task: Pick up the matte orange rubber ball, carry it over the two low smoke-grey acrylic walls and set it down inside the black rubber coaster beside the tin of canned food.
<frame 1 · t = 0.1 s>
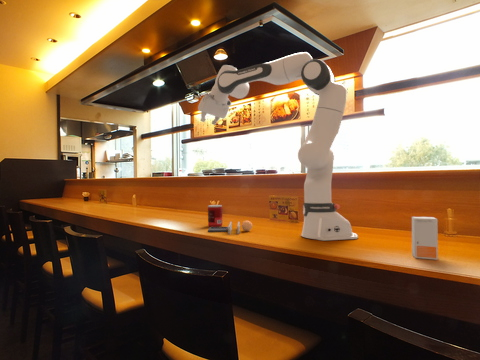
hand: (207, 122, 151), 54 cm above the table, tool tilted 30°, fingers open, 8 cm apart
walls: (234, 231, 139), on the table
coaster: (218, 230, 143), on the table
ball: (247, 231, 139), on the table
skincare box: (424, 258, 87), on the table
canned food: (215, 226, 158), on the table
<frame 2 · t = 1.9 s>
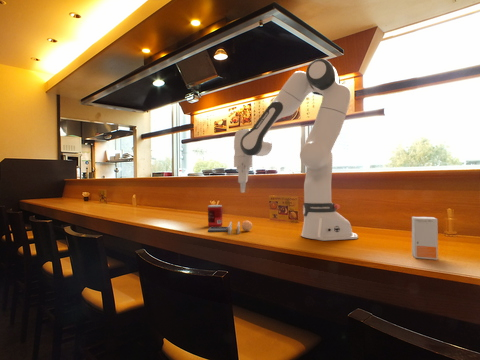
hand: (243, 192, 140), 19 cm above the table, tool pointing down, fingers open, 8 cm apart
nothing on the table moved.
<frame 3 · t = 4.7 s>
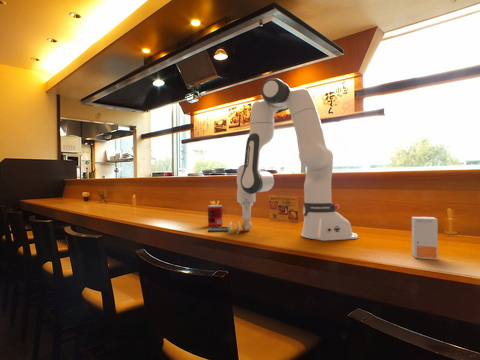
hand: (246, 227, 139), 2 cm above the table, tool pointing down, fingers closed on ball, 5 cm apart
ball: (246, 231, 139), on the table, touching gripper
everything else where it was.
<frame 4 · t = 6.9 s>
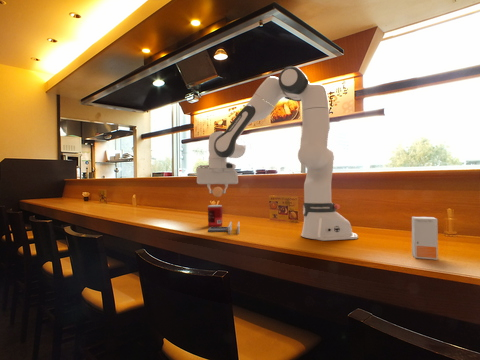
hand: (217, 193, 143), 18 cm above the table, tool pointing down, fingers closed on ball, 5 cm apart
ball: (217, 196, 143), point 16 cm above the table, touching gripper
everything else where it was.
when the fingers open (4 cm above the table, at t = 9.3 s): ball drops 2 cm, resting on coaster.
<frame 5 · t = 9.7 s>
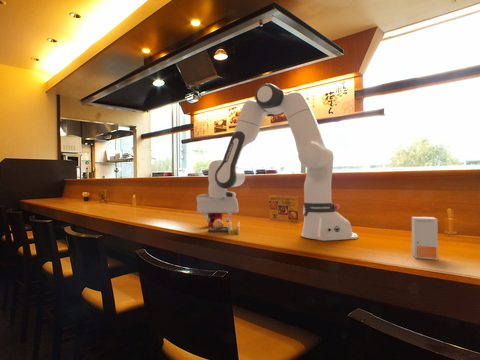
hand: (218, 222, 143), 4 cm above the table, tool pointing down, fingers open, 8 cm apart
ball: (218, 229, 143), resting on coaster
everything else where it was.
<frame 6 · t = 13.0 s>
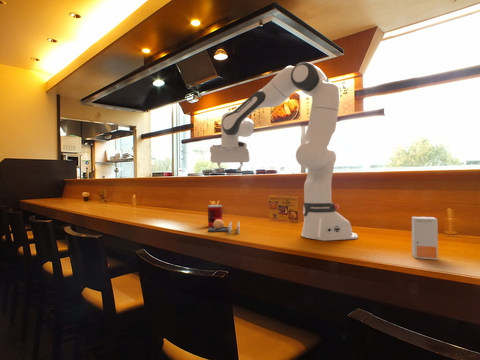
hand: (230, 171, 152), 29 cm above the table, tool pointing down, fingers open, 8 cm apart
nothing on the table moved.
at the end: ball inside the target area on the coaster (0.1 cm from its centre), point 0.4 cm above the coaster's base; the gripper is holding nothing; ball inside the target area (3.7 cm from its centre), resting on coaster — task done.
